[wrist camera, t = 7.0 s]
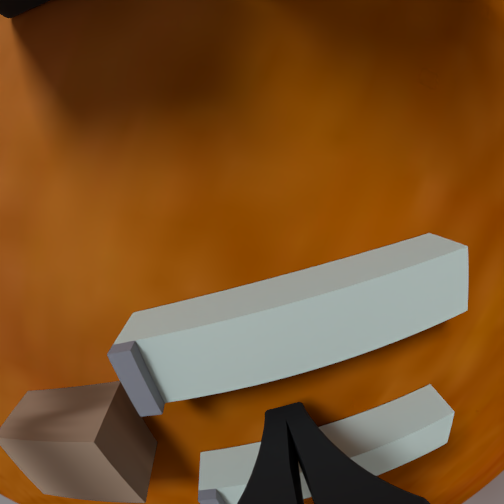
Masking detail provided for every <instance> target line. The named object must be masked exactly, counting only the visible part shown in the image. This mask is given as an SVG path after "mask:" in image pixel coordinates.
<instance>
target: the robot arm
mask: <svg viewBox="0 0 504 504" xmlns="http://www.w3.org/2000/svg"><path fill="white" fill-rule="evenodd" d="M298 462H299V464H298ZM299 465H300V467H301V470H302V473H303V475H304V478H305V481H306V483H307V486H308V488H309V491H310V494H311V496H312V499H313V501H314V504H430V503H429V502H428V501H427V500H426V499H425V498H423V497H420V496H417V495H415V494H412V493H409V492H407V491H405V490H402V489H400V488H398V487H396V486H394V485H391V484H389V483H388V482H386V481H384V480H382V479H380V478H379V477H377V476H375V475H373V474H372V473H370V472H368V471H367V470H366V469H364V468H363V467H361V466H360V465H358V464H357V463H356V462H354V461H353V460H352V459H350V458H349V457H348V456H347V455H346V454H344V453H343V452H342V451H341V450H340V449H339V448H338V447H337V446H336V445H334V444H333V443H332V442H331V441H330V440H329V439H328V437H327V436H326V435H325V434H324V433H323V432H322V431H321V430H320V429H319V427H318V426H317V425H316V424H315V422H314V421H313V420H312V418H311V417H310V416H309V414H308V413H307V411H306V409H305V408H304V406H303V403H300V402H297V403H294V404H290V405H286V406H282V407H278V408H274V409H270V410H267V411H266V412H265V423H264V430H263V436H262V440H261V445H260V449H259V453H258V456H257V459H256V462H255V465H254V468H253V471H252V474H251V476H250V478H249V481H248V483H247V485H246V487H245V490H244V492H243V494H242V496H241V497H240V499H239V501H238V503H237V504H304V501H303V494H302V486H301V479H300V471H299Z"/></svg>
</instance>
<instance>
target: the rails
mask: <svg viewBox="0 0 504 504" xmlns="http://www.w3.org/2000/svg"><path fill="white" fill-rule="evenodd" d="M467 310H468V246H466V245H463V244H460V243H457V242H454V241H451V240H449V239H446V238H443V237H440V236H437V235H434V234H431V233H428V234H424V235H421V236H418V237H415V238H411V239H408V240H405V241H401V242H398V243H395V244H391V245H388V246H385V247H381V248H378V249H374V250H371V251H367V252H364V253H361V254H357V255H354V256H350V257H347V258H343V259H340V260H336V261H332V262H329V263H325V264H322V265H318V266H315V267H311V268H307V269H304V270H300V271H296V272H293V273H289V274H285V275H282V276H278V277H274V278H270V279H267V280H263V281H259V282H255V283H251V284H248V285H244V286H240V287H236V288H232V289H228V290H224V291H220V292H216V293H212V294H208V295H204V296H200V297H196V298H192V299H188V300H184V301H180V302H176V303H172V304H168V305H164V306H159V307H155V308H151V309H147V310H143V311H138V312H134V313H133V314H132V315H131V317H130V318H129V320H128V322H127V323H126V325H125V326H124V328H123V329H122V331H121V333H120V334H119V336H118V337H117V339H116V341H115V342H114V344H113V345H112V347H111V349H110V350H109V352H108V354H107V356H108V358H109V360H110V362H111V364H112V366H113V368H114V370H115V372H116V374H117V376H118V378H119V379H120V381H121V383H122V385H123V387H124V389H125V391H126V392H127V394H128V396H129V398H130V400H131V401H132V403H133V405H134V407H135V408H136V410H137V412H138V414H139V415H140V417H143V416H151V415H159V414H162V413H163V409H164V404H165V403H166V402H173V401H179V400H185V399H191V398H197V397H202V396H208V395H213V394H218V393H223V392H228V391H232V390H237V389H241V388H246V387H250V386H254V385H259V384H263V383H267V382H271V381H275V380H279V379H282V378H286V377H290V376H293V375H297V374H301V373H304V372H308V371H311V370H314V369H318V368H321V367H324V366H327V365H331V364H334V363H337V362H340V361H343V360H346V359H349V358H352V357H355V356H358V355H361V354H364V353H367V352H369V351H372V350H375V349H378V348H380V347H383V346H386V345H388V344H391V343H394V342H396V341H399V340H401V339H404V338H406V337H409V336H411V335H414V334H416V333H418V332H421V331H423V330H426V329H428V328H430V327H433V326H435V325H437V324H439V323H442V322H444V321H446V320H448V319H450V318H453V317H455V316H457V315H459V314H461V313H463V312H465V311H467ZM453 416H454V411H453V409H452V408H451V407H450V406H449V405H448V404H447V403H446V402H445V400H444V399H443V398H442V397H441V396H440V395H439V394H438V392H437V391H436V390H435V389H434V388H433V387H432V386H431V385H430V384H429V385H427V386H425V387H423V388H421V389H419V390H416V391H414V392H412V393H410V394H407V395H405V396H403V397H400V398H398V399H396V400H393V401H391V402H388V403H386V404H383V405H381V406H378V407H376V408H373V409H370V410H368V411H365V412H362V413H360V414H357V415H354V416H351V417H348V418H345V419H342V420H339V421H336V422H333V423H330V424H327V425H323V426H320V427H319V429H320V430H321V431H322V432H323V433H324V434H325V435H326V436H327V437H328V439H329V440H330V441H331V442H332V443H333V444H334V445H336V446H337V447H338V448H339V449H340V450H341V451H342V452H343V453H344V454H346V455H347V456H348V457H349V458H350V459H352V460H353V461H354V462H356V463H357V464H358V465H360V466H361V467H363V468H364V469H366V470H367V471H368V472H370V473H372V474H373V475H375V476H377V475H380V474H382V473H385V472H387V471H389V470H392V469H394V468H397V467H399V466H401V465H403V464H406V463H408V462H410V461H412V460H414V459H416V458H419V457H421V456H423V455H425V454H427V453H429V452H431V451H433V450H435V449H437V448H439V447H440V446H442V445H444V444H446V443H447V442H448V438H449V434H450V430H451V425H452V421H453ZM260 445H261V442H257V443H252V444H247V445H242V446H237V447H231V448H226V449H219V450H213V451H206V452H201V455H200V472H199V491H198V501H199V502H200V504H237V503H238V501H239V499H240V497H241V496H242V494H243V492H244V490H245V487H246V485H247V483H248V481H249V478H250V476H251V474H252V471H253V468H254V465H255V462H256V459H257V456H258V453H259V449H260ZM298 464H299V462H298ZM299 471H300V479H301V486H302V494H303V499H305V498H309V497H312V496H311V494H310V491H309V488H308V486H307V483H306V481H305V478H304V475H303V473H302V470H301V467H300V465H299Z"/></svg>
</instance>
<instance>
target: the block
mask: <svg viewBox="0 0 504 504" xmlns="http://www.w3.org/2000/svg"><path fill="white" fill-rule="evenodd" d="M0 445H1V447H2V448H3V449H4V450H5V452H6V453H7V454H8V455H9V457H10V458H11V459H12V460H13V461H14V462H15V464H16V465H17V466H18V467H19V468H20V469H21V470H22V472H23V473H24V474H25V475H26V476H27V477H28V478H29V479H30V480H31V481H32V482H33V483H34V484H35V485H36V487H37V488H38V489H39V490H40V491H41V492H42V493H43V494H49V495H54V496H61V497H68V498H75V499H84V500H94V501H106V502H127V503H145V502H146V497H147V492H148V486H149V481H150V476H151V471H152V466H153V461H154V456H155V452H156V447H157V441H156V439H155V438H154V436H153V435H152V433H151V432H150V430H149V428H148V427H147V425H146V424H145V422H144V420H143V419H142V417H140V415H139V414H138V412H137V410H136V408H135V407H134V405H133V403H132V401H131V400H130V398H129V396H128V394H127V392H126V391H125V389H124V387H123V385H122V383H121V381H116V382H109V383H102V384H94V385H86V386H78V387H68V388H59V389H47V390H35V391H28V392H27V393H26V394H25V395H24V397H23V398H22V399H21V401H20V402H19V403H18V405H17V406H16V407H15V409H14V410H13V411H12V413H11V414H10V415H9V417H8V418H7V419H6V421H5V422H4V423H3V425H2V426H1V427H0Z"/></svg>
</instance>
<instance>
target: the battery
mask: <svg viewBox="0 0 504 504" xmlns="http://www.w3.org/2000/svg"><path fill="white" fill-rule="evenodd" d="M48 1H50V0H0V14H1V15H3V16H5V17H7V18H12V17H15V16H17V15H19V14H21V13H23V12H25V11H27V10H30V9H32V8H34V7H36V6H38V5H41V4H43V3H45V2H48Z"/></svg>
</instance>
